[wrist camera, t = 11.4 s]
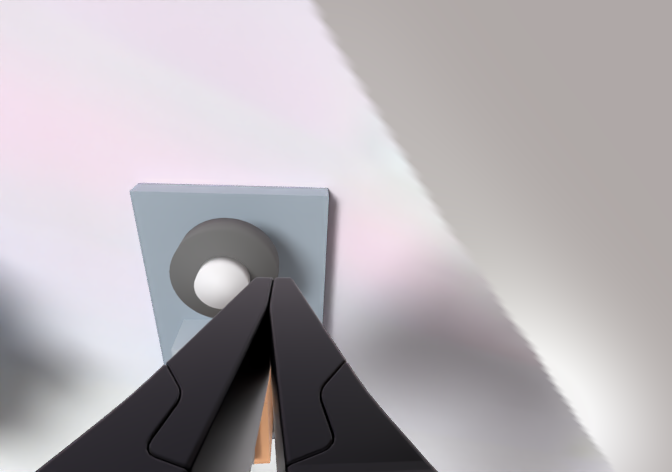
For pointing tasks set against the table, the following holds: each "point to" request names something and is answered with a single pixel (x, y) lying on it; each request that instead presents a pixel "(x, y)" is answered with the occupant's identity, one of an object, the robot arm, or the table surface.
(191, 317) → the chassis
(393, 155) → the table surface
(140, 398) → the robot arm
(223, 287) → the wheel
